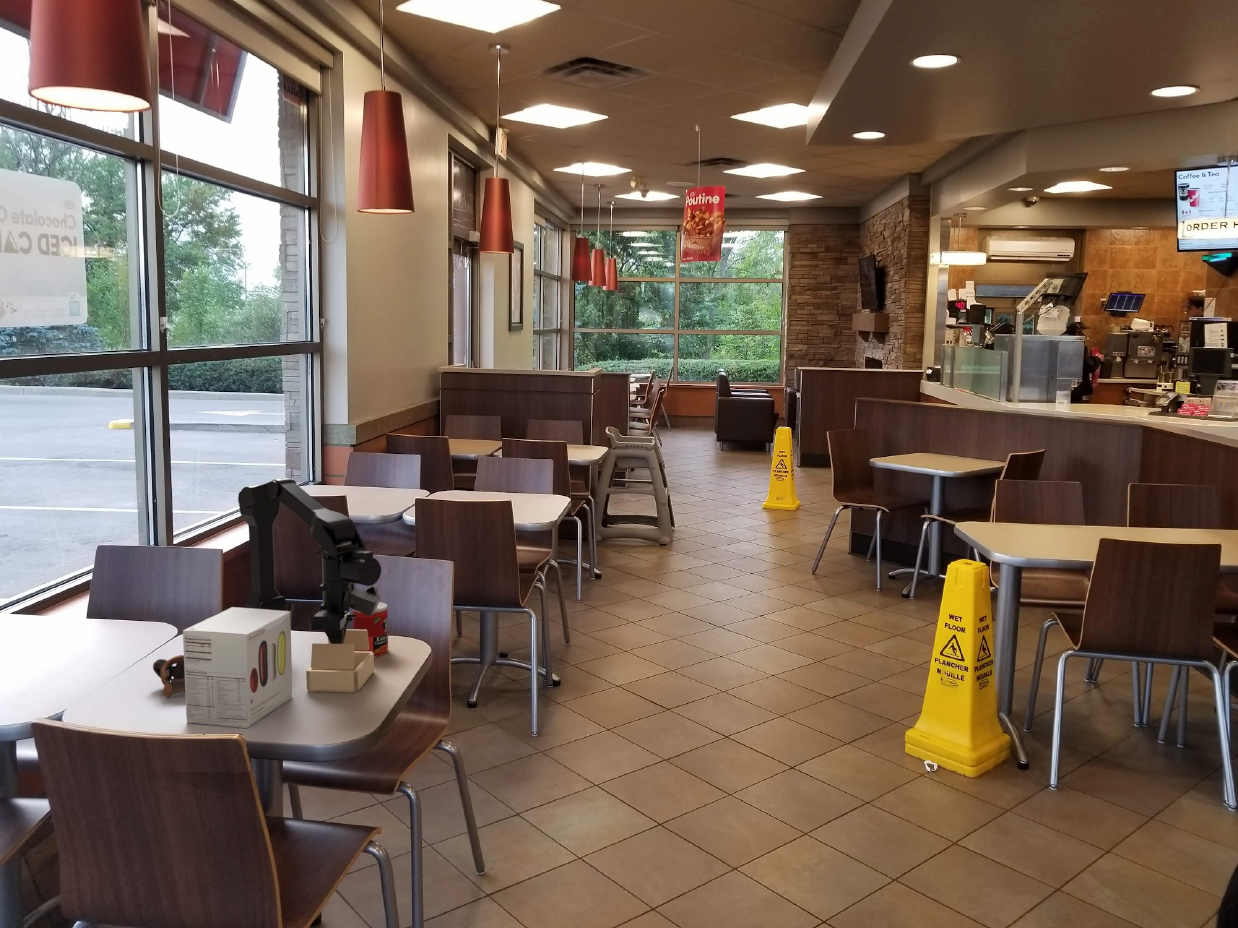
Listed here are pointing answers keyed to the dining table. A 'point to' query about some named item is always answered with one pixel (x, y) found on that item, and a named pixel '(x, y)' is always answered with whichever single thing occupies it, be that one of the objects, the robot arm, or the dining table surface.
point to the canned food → (374, 629)
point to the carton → (341, 676)
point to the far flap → (356, 639)
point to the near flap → (332, 656)
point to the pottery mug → (171, 674)
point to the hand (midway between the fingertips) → (338, 651)
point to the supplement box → (237, 666)
